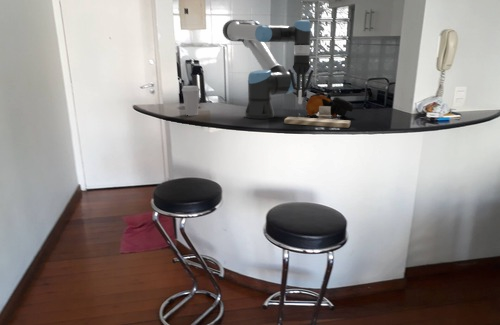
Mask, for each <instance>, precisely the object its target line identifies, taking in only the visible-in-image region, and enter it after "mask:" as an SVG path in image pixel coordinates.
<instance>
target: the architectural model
mask: <svg viewBox="0 0 500 325" xmlns="http://www.w3.org/2000/svg"><path fill="white" fill-rule="evenodd" d="M330 109H331V106H319V112H318V113H315V115H316V116H317V117H318V119H332V116H331V112H330Z"/></svg>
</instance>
